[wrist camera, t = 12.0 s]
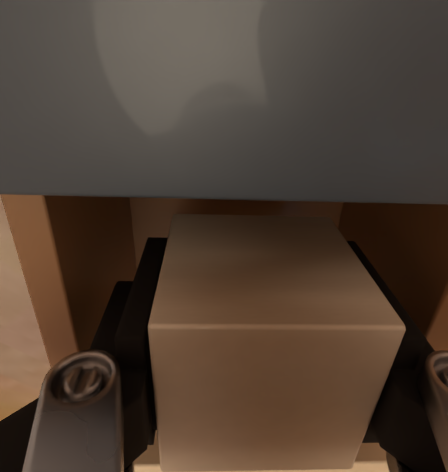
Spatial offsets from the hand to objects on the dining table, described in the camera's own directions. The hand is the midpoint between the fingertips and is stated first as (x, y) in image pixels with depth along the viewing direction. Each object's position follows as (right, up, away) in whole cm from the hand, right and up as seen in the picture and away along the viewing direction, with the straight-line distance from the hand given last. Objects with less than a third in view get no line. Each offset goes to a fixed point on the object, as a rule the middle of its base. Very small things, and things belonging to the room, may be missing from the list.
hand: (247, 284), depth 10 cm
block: (0, 0, 0) cm, 0 cm away
